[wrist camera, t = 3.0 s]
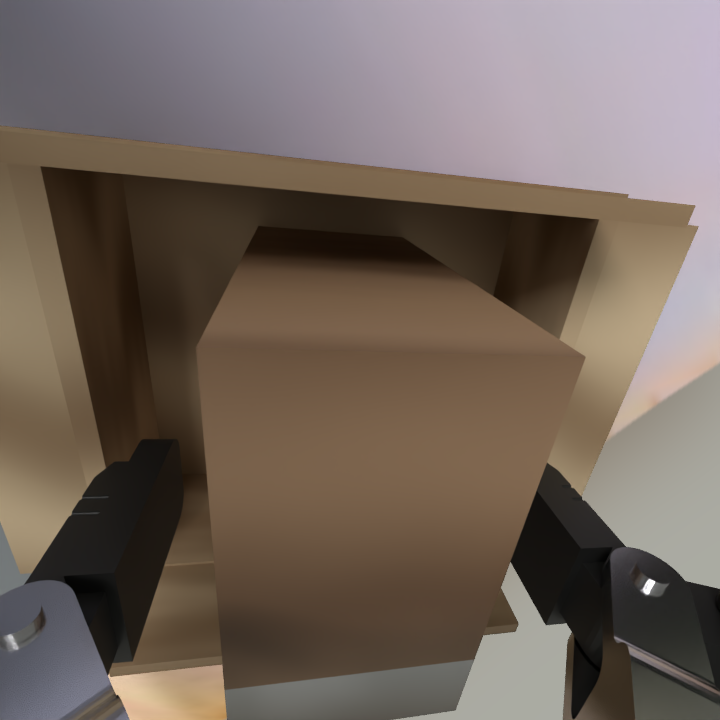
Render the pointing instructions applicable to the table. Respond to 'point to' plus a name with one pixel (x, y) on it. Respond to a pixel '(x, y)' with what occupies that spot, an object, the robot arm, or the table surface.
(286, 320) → the walnut block
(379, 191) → the kraft carton
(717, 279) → the table surface
